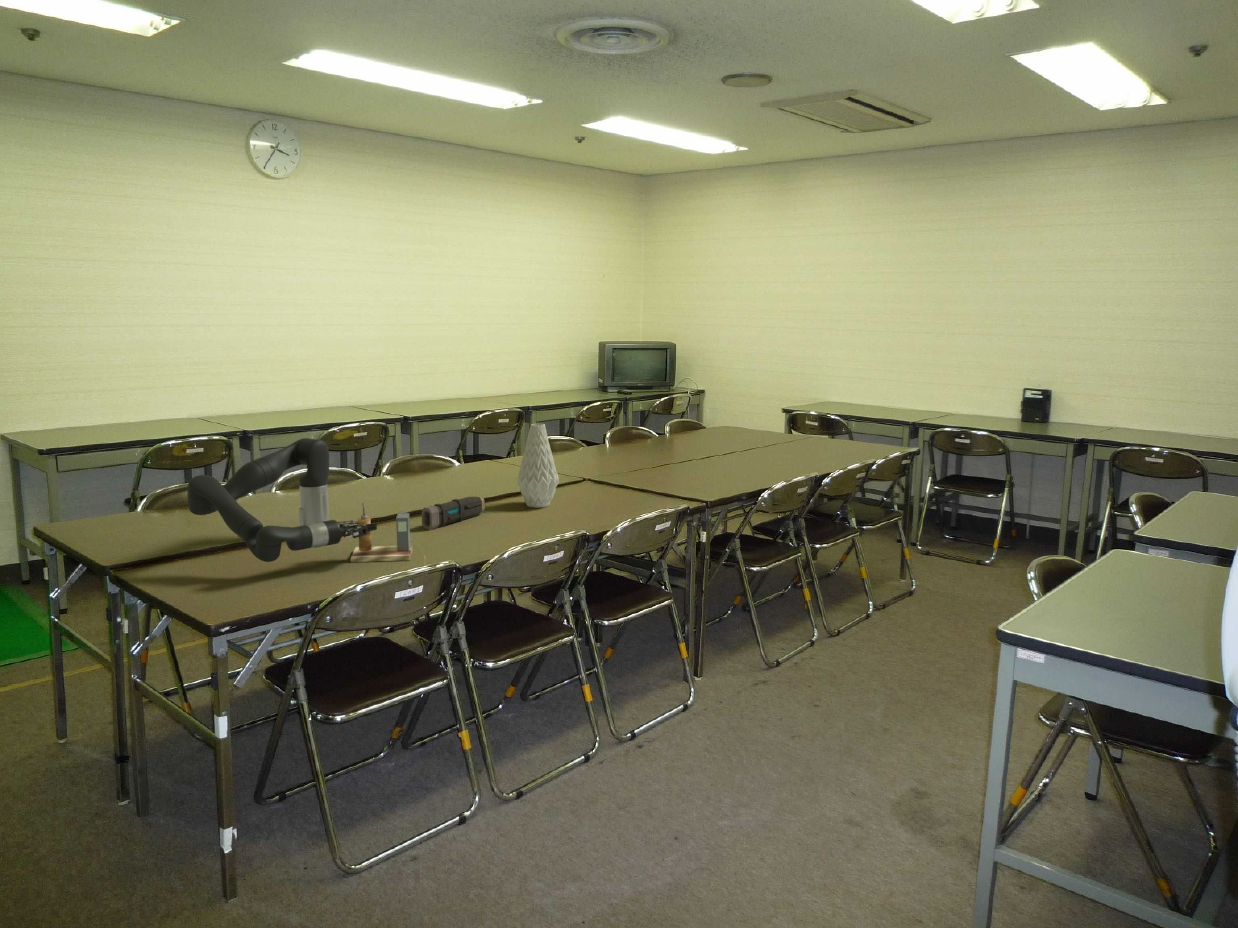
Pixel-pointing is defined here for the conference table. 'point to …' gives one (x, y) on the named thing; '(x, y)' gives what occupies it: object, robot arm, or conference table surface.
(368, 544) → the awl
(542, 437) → the vase
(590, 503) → the conference table surface
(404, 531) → the block
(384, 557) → the board
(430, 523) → the tube
